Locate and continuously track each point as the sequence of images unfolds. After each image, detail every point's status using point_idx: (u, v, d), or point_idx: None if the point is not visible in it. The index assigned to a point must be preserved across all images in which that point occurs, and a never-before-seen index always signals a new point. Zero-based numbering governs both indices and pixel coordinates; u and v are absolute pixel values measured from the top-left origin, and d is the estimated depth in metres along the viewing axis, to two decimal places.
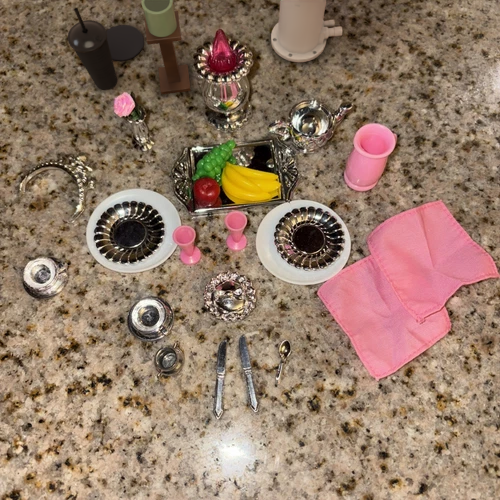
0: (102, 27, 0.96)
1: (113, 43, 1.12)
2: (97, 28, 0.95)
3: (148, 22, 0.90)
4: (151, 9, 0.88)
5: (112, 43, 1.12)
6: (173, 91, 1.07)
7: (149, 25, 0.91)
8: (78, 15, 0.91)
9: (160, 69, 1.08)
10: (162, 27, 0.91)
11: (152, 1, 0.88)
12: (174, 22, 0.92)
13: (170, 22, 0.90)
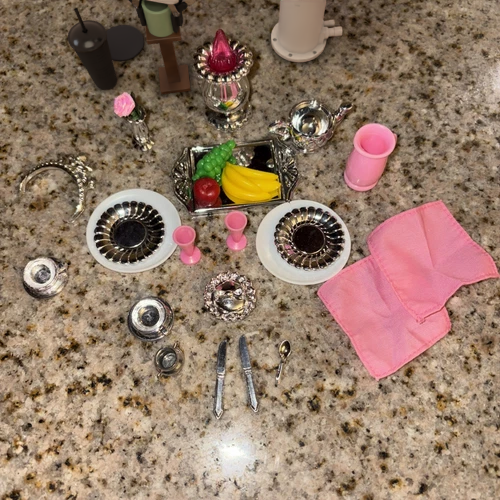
0: (102, 27, 0.96)
1: (113, 43, 1.12)
2: (97, 28, 0.95)
3: (148, 22, 0.90)
4: (151, 9, 0.88)
5: (112, 43, 1.12)
6: (173, 91, 1.07)
7: (149, 25, 0.91)
8: (78, 15, 0.91)
9: (160, 69, 1.08)
10: (162, 27, 0.91)
11: (152, 1, 0.88)
12: None
13: (170, 22, 0.90)
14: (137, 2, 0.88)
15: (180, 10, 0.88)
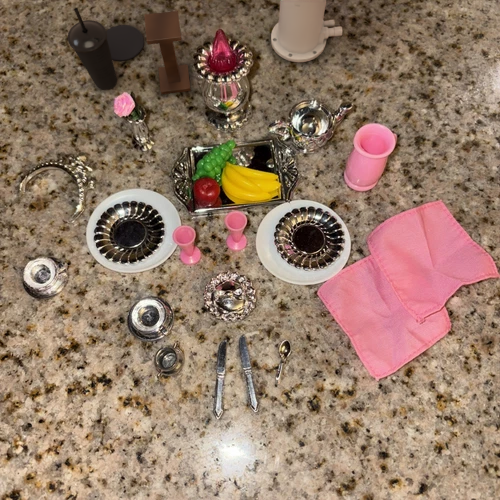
0: (102, 27, 0.96)
1: (113, 43, 1.12)
2: (97, 28, 0.95)
3: None
4: None
5: (112, 43, 1.12)
6: (173, 91, 1.07)
7: None
8: (78, 15, 0.91)
9: (160, 69, 1.08)
10: None
11: None
12: None
13: None
14: None
15: None
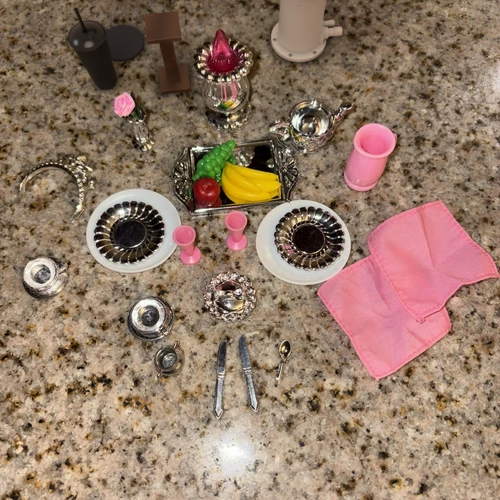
0: (102, 27, 0.96)
1: (113, 43, 1.12)
2: (97, 28, 0.95)
3: None
4: None
5: (112, 43, 1.12)
6: (173, 91, 1.07)
7: None
8: (78, 15, 0.91)
9: (160, 69, 1.08)
10: None
11: None
12: None
13: None
14: None
15: None
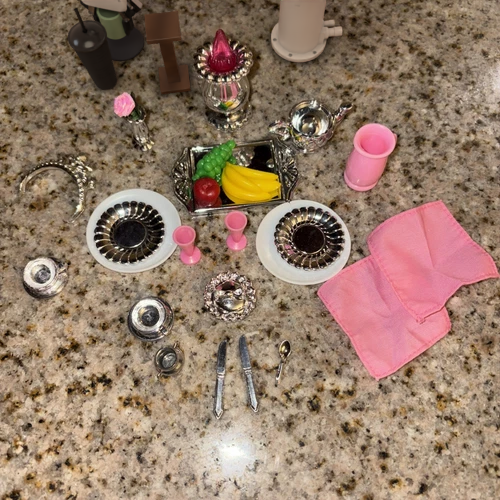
0: (102, 27, 0.96)
1: (113, 43, 1.12)
2: (97, 28, 0.95)
3: None
4: (104, 16, 1.02)
5: (112, 43, 1.12)
6: (173, 91, 1.07)
7: None
8: (78, 15, 0.91)
9: (160, 69, 1.08)
10: (115, 31, 1.05)
11: (105, 9, 1.03)
12: None
13: (122, 27, 1.05)
14: (92, 9, 1.02)
15: (129, 16, 1.02)
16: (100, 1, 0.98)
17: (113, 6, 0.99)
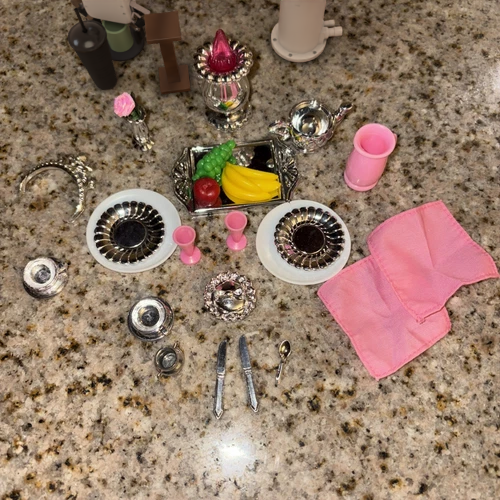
0: (102, 27, 0.96)
1: None
2: (97, 28, 0.95)
3: (108, 40, 1.08)
4: (110, 30, 1.06)
5: None
6: (173, 91, 1.07)
7: (109, 42, 1.09)
8: (78, 15, 0.91)
9: (160, 69, 1.08)
10: (120, 44, 1.09)
11: (110, 23, 1.06)
12: (130, 40, 1.10)
13: (127, 40, 1.09)
14: (89, 16, 1.05)
15: (140, 26, 1.04)
16: (106, 14, 1.01)
17: (118, 19, 1.02)
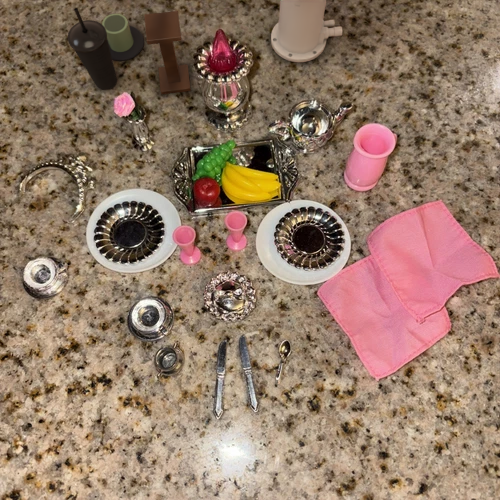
0: (102, 27, 0.96)
1: None
2: (97, 28, 0.95)
3: (108, 40, 1.08)
4: (110, 30, 1.06)
5: None
6: (173, 91, 1.07)
7: (109, 42, 1.09)
8: (78, 15, 0.91)
9: (160, 69, 1.08)
10: (120, 44, 1.09)
11: (110, 23, 1.06)
12: (130, 40, 1.10)
13: (127, 40, 1.09)
14: None
15: None
16: None
17: None
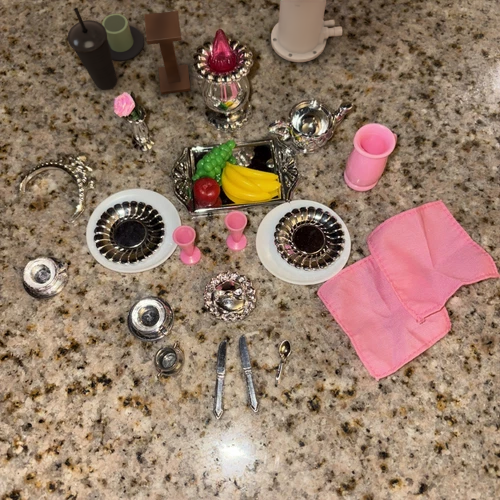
0: (102, 27, 0.96)
1: None
2: (97, 28, 0.95)
3: (108, 40, 1.08)
4: (110, 30, 1.06)
5: None
6: (173, 91, 1.07)
7: (109, 42, 1.09)
8: (78, 15, 0.91)
9: (160, 69, 1.08)
10: (120, 44, 1.09)
11: (110, 23, 1.06)
12: (130, 40, 1.10)
13: (127, 40, 1.09)
14: None
15: None
16: None
17: None
